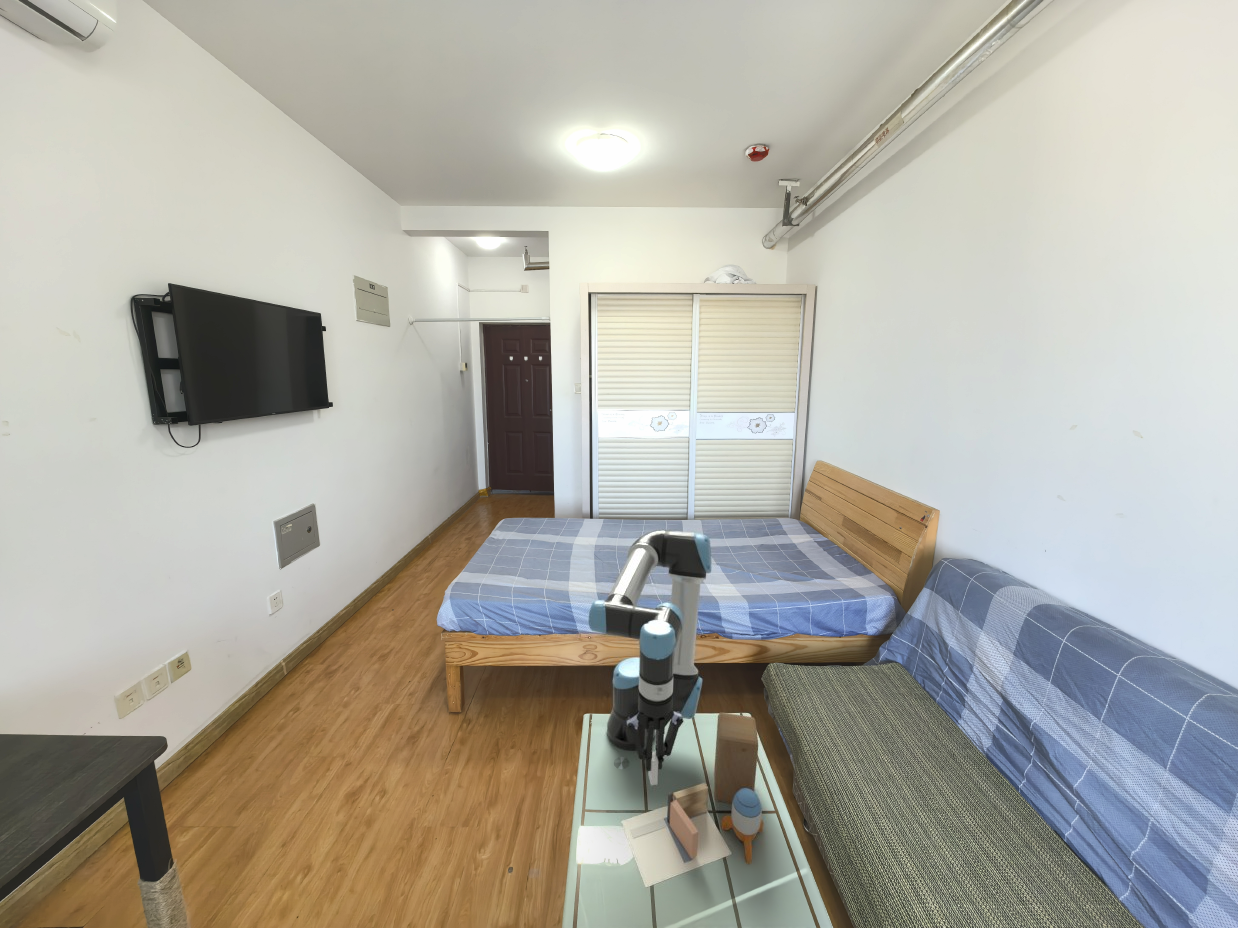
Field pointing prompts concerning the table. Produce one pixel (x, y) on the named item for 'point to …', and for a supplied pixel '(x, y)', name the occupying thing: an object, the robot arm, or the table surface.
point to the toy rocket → (745, 818)
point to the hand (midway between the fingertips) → (652, 779)
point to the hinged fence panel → (684, 829)
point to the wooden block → (735, 755)
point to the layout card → (670, 845)
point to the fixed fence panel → (690, 800)
